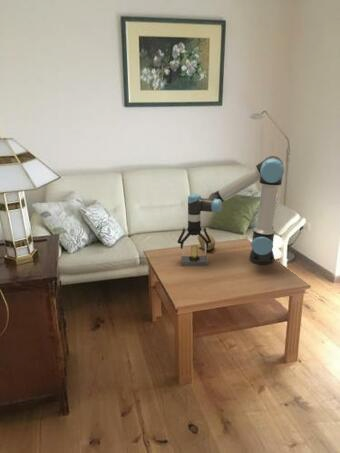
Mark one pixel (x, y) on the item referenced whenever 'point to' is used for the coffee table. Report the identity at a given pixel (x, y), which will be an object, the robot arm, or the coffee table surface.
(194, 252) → the gold peg
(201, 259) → the metal plate with hole
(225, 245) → the coffee table surface
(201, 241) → the faceted tan rock
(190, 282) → the coffee table surface
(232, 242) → the coffee table surface
